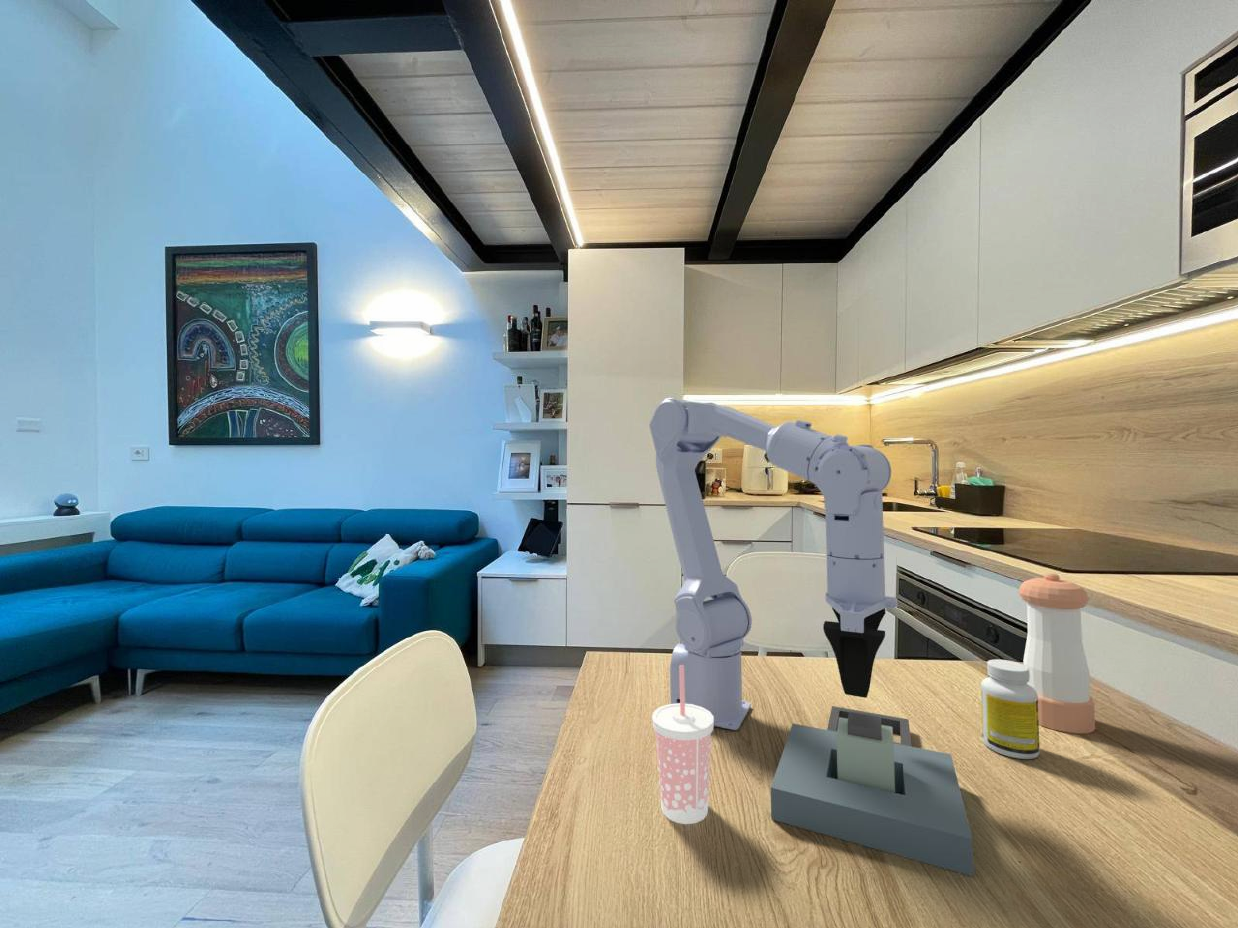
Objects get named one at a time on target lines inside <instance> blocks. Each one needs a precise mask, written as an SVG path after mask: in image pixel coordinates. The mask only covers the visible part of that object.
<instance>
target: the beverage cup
mask: <svg viewBox="0 0 1238 928" xmlns="http://www.w3.org/2000/svg"><path fill="white" fill-rule="evenodd" d="M679 673H680V703H676V704H671V703H669V704H665V705H662V706H659V707H658V708H657V709H655V710H654V711H653V713H652V716H651V720H652V727H653V729H654V731H655V744H656V745H655V746H656V757H657V769H658V782H659V795H660V797H659V798H660V807H661V811H662V813H663V815H664V816H665V818H667V819H668V820H669V821H672V822H674V823H676V824H682V825H683V824H684V825H691V824H692V825H693V824H697V823H699V822H701V821H703V820H704V819H705V818H707V816H708V812H709V795H710V794H709V792H710V791H709V790H710V789H709V788H710V767H711V766H710V764H711V763H710V762H711V743H712V742H711V737H712V735H711V734H712V732H713V731H714V727H715V726H714V724H713V722H714V716H713V715H712V714H711V712H710V711H708V710H706V709H705V708H703V707H700V706H697V705H693V704H685V685H684V665H679Z"/></svg>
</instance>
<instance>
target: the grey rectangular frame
mask: <svg viewBox="0 0 1238 928" xmlns="http://www.w3.org/2000/svg"><path fill="white" fill-rule="evenodd" d="M849 712H855V713H861V714H866V715H872V716H878V717H881V725H885V726H890V727H892V729H893V733H897V734H899V735H900V736H899V737H900V742H895V741H893V743H896V744H901V745H906V746H911V747H913V746H912V738H911V730H910V722H909V718H904V717H903V718H902V717H897V716H891V715H887V714H880V713H874V712H869V711H862V710H856V709H851V708H846V707H840V706H834V705H832V706H831V708H830V715H829V719H828V724H827V727H826V730H829V731H834V732H837V728H838V721H839V717H841V718H846V719H848V715H849Z"/></svg>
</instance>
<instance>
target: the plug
mask: <svg viewBox="0 0 1238 928" xmlns="http://www.w3.org/2000/svg"><path fill="white" fill-rule="evenodd" d="M893 742H894V732H893V729H892V727H890V726H885V725H881V717H878V716H872V715H866V714H861V713H855V712H849V715H848V719H846V718H841V717H839V721H838V728H837V771H838V778H837V779H838V780H842V781H846V782H851V783H855V784H859V785H863V786H868V787H872V788H876V789H880V790H885V791H889V792H893V793H896V791H895V776H894V744H893Z"/></svg>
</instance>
